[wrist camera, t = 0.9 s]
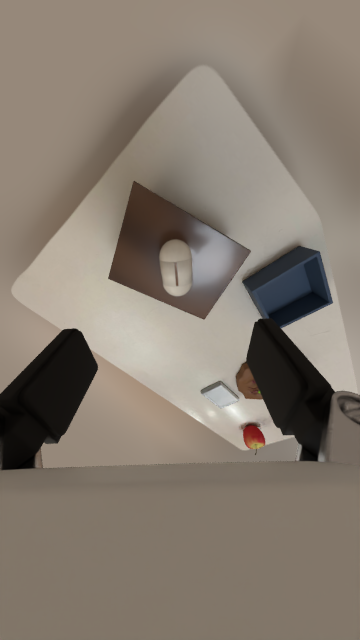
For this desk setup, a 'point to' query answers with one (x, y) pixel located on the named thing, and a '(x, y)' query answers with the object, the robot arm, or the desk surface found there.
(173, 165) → the desk surface
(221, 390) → the hard drive
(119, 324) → the desk surface
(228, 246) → the side table
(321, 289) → the bin
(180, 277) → the white capsule
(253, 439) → the apple
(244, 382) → the plant
